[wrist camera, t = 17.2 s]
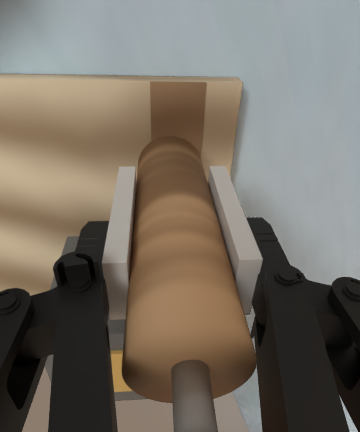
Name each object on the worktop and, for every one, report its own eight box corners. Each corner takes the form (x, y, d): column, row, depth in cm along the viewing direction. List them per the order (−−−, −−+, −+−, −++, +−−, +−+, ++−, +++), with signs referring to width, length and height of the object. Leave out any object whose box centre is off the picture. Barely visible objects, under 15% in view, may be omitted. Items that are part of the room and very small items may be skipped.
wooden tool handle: (136, 136, 17) (108, 404, 6) (203, 136, 18) (291, 393, 6) (139, 194, 19) (122, 472, 8) (199, 193, 20) (260, 462, 9)
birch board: (-117, 71, 17) (-135, 77, 16) (237, 77, 19) (243, 83, 18) (-11, 299, 28) (-18, 311, 27) (210, 291, 29) (213, 303, 28)
